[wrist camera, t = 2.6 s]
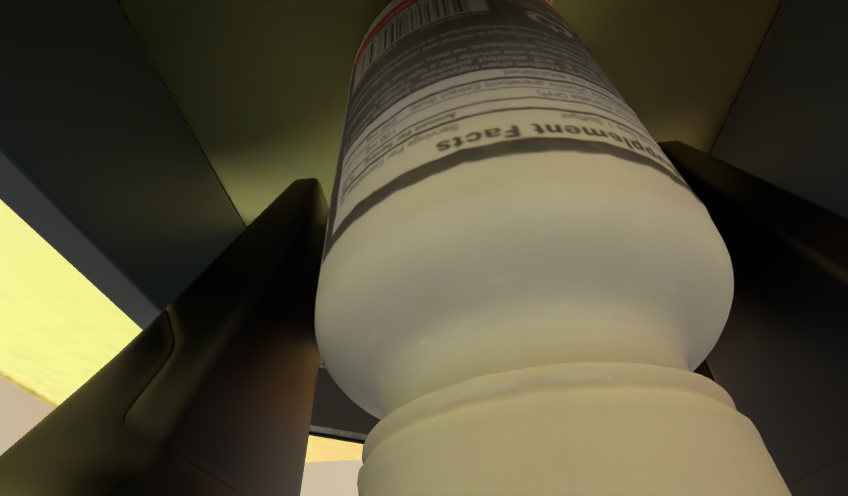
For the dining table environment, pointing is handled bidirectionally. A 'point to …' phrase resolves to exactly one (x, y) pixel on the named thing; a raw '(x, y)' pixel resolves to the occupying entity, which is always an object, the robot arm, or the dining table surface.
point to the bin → (204, 195)
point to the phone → (338, 412)
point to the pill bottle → (521, 273)
